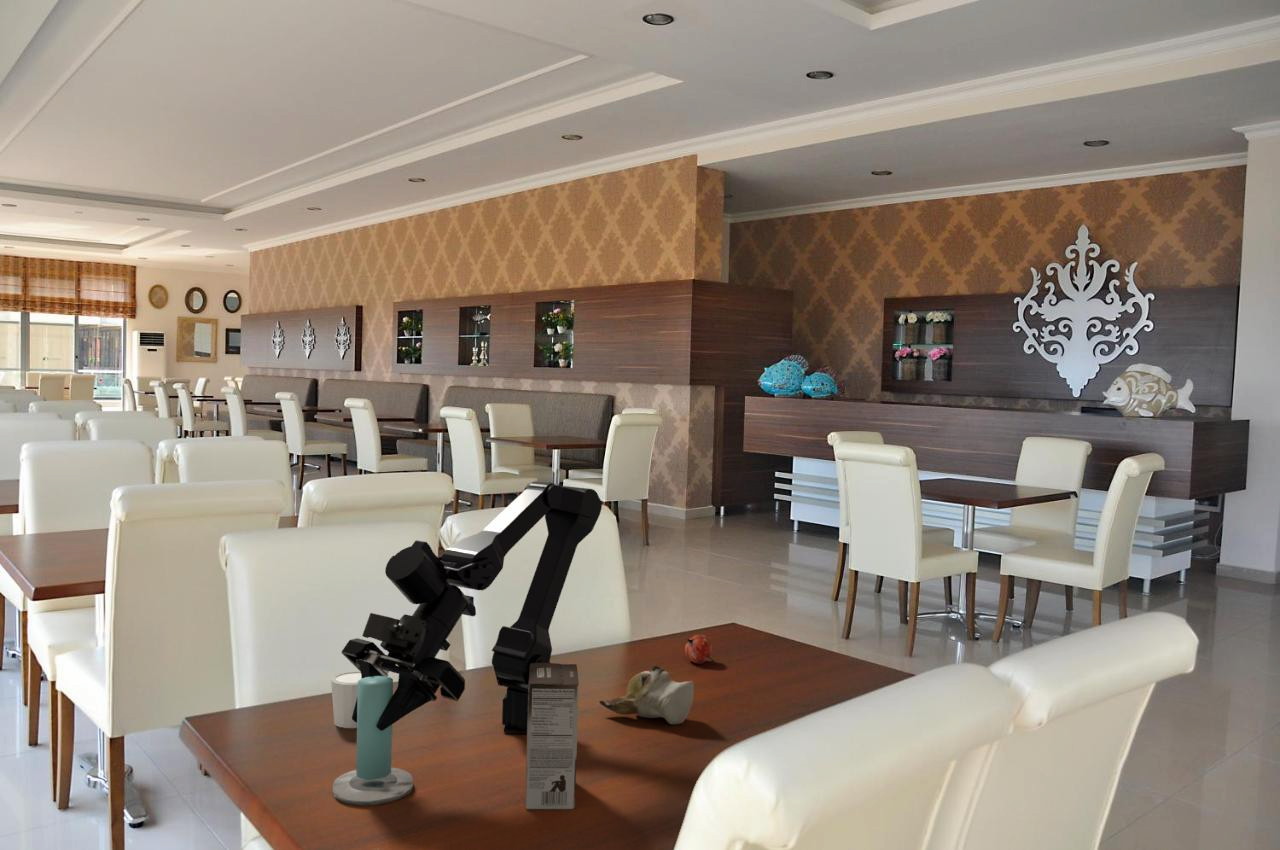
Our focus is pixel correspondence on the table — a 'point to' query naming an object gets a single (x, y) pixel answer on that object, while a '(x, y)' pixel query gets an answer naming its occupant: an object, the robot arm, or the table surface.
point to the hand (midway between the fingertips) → (366, 725)
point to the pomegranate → (698, 648)
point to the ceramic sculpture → (655, 697)
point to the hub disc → (372, 788)
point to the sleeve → (373, 728)
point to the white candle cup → (345, 698)
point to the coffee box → (552, 736)
